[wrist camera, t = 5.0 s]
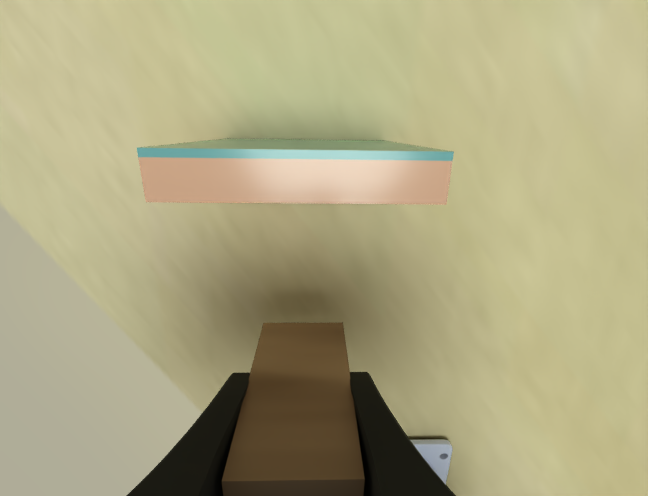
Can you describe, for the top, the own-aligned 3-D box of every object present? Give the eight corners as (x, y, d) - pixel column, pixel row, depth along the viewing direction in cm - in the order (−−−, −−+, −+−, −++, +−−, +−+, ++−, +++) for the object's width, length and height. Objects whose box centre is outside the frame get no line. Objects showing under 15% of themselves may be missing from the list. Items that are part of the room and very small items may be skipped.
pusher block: (340, 385, 14) (357, 566, 8) (267, 386, 14) (232, 569, 8) (342, 322, 13) (364, 478, 7) (263, 322, 13) (221, 481, 7)
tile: (382, 167, 15) (446, 204, 8) (229, 166, 15) (145, 202, 8) (384, 140, 15) (453, 151, 7) (227, 138, 15) (136, 148, 7)
